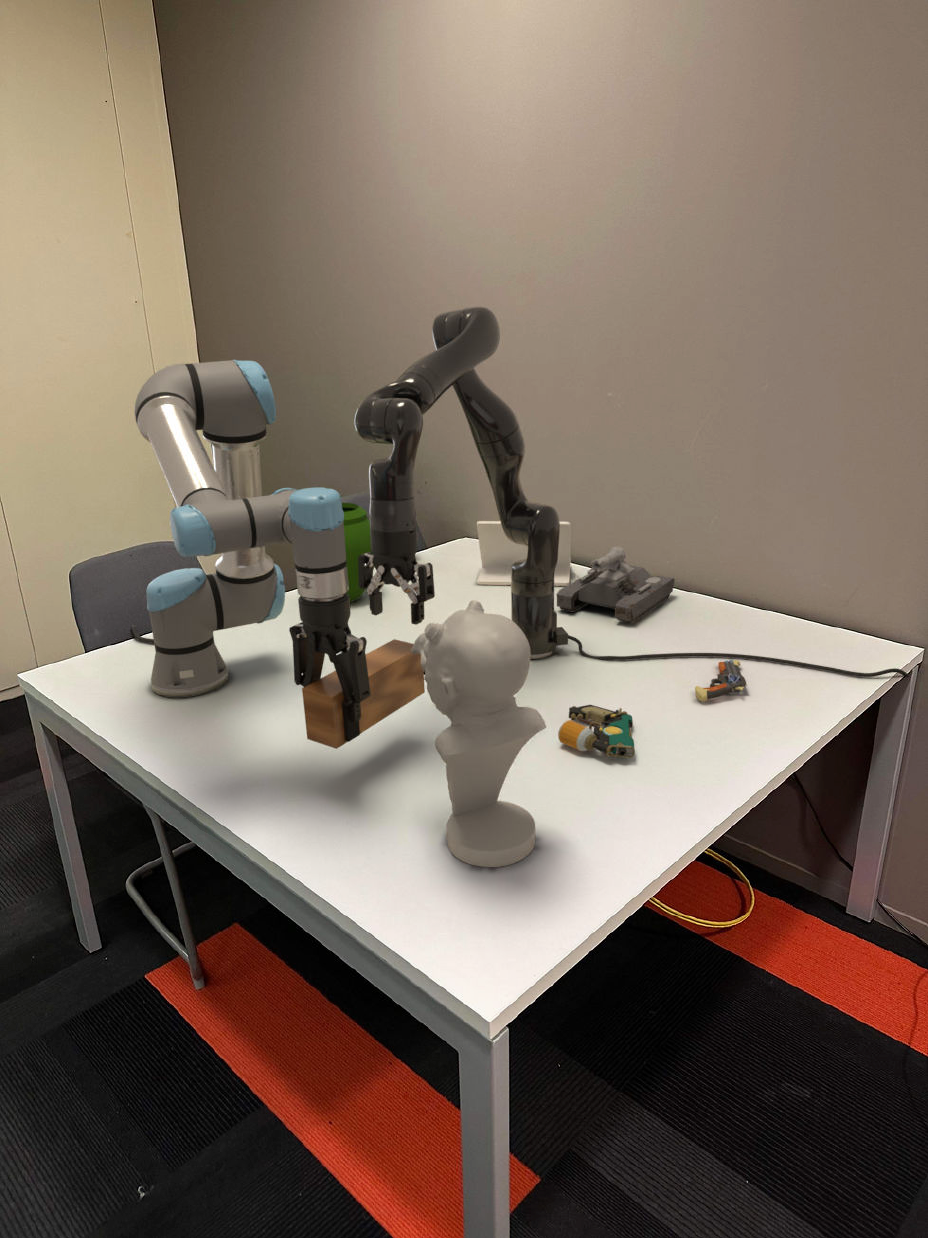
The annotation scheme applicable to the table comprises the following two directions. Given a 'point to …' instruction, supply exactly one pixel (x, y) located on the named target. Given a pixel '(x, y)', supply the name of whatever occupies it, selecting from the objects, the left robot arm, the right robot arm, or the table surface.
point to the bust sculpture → (481, 729)
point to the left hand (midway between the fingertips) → (335, 732)
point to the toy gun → (723, 682)
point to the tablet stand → (515, 554)
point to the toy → (616, 588)
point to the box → (390, 687)
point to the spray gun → (599, 731)
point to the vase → (355, 544)
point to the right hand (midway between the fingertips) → (396, 618)
